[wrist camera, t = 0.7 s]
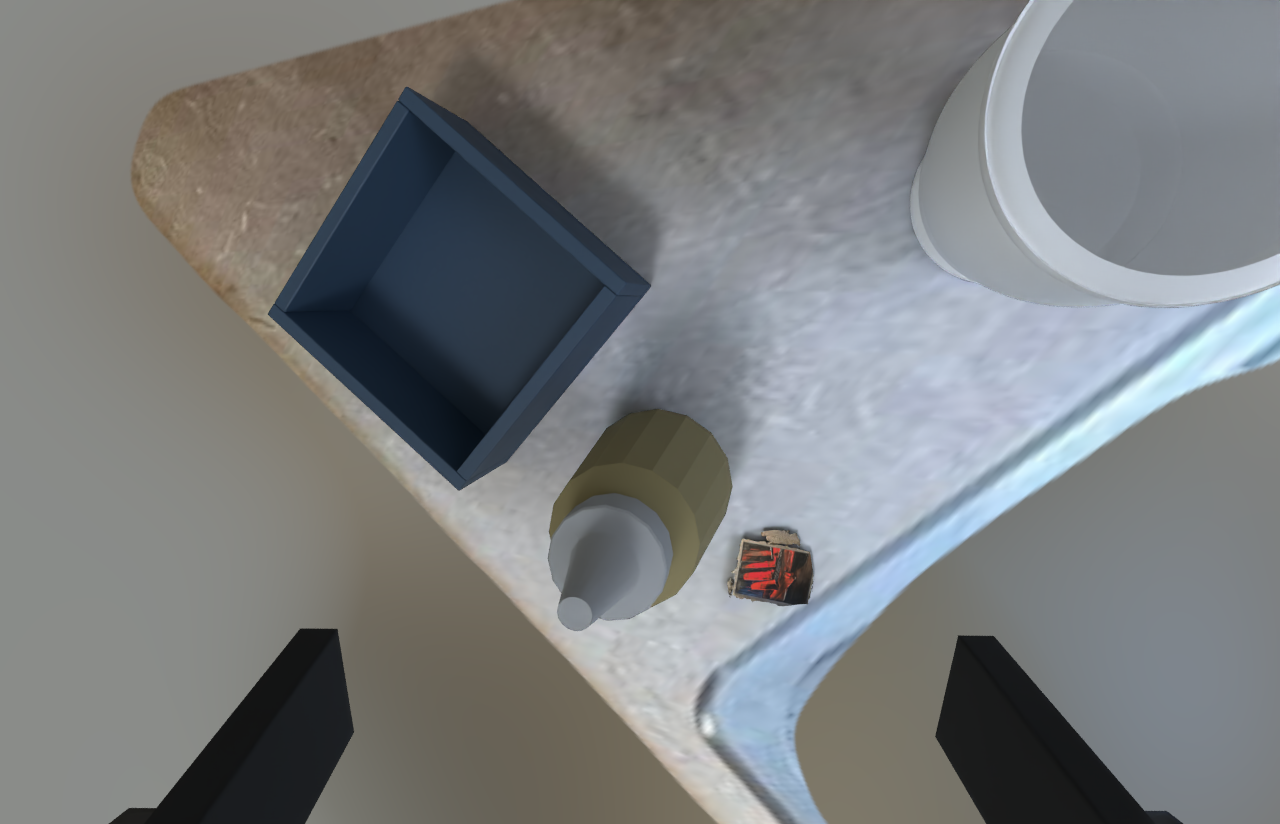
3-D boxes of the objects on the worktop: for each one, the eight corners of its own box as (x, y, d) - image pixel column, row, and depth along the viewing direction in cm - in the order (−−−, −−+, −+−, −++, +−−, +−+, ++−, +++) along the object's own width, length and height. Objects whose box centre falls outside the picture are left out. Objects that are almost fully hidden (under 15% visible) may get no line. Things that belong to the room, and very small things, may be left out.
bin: (466, 121, 35) (405, 85, 29) (651, 285, 34) (627, 282, 29) (342, 312, 39) (266, 314, 33) (506, 462, 38) (458, 491, 33)
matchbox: (816, 602, 36) (816, 606, 35) (729, 604, 37) (729, 608, 36) (809, 528, 35) (809, 531, 34) (721, 532, 36) (720, 535, 36)
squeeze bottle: (756, 504, 35) (741, 699, 18) (633, 542, 38) (516, 749, 20) (707, 378, 35) (642, 456, 17) (584, 424, 37) (419, 534, 20)
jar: (845, 186, 31) (906, 90, 17) (1030, 36, 28) (1293, -234, 14) (968, 346, 32) (1132, 385, 17) (1165, 212, 29) (1562, 124, 14)
